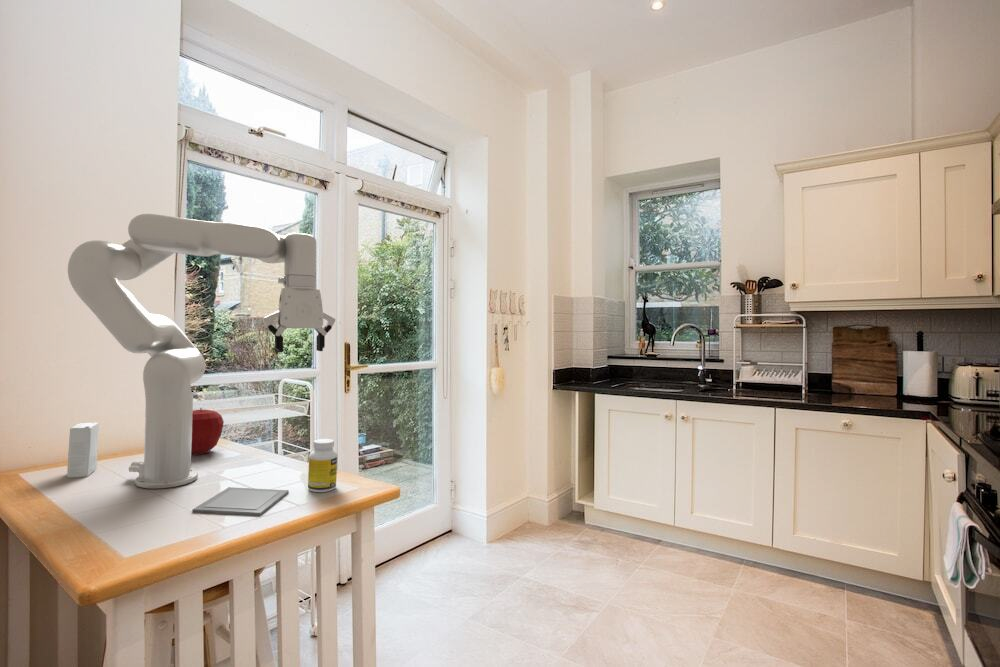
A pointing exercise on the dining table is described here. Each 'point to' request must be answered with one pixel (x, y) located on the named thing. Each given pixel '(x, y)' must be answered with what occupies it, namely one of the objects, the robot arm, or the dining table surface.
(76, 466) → the skincare box
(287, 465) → the dining table surface
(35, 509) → the dining table surface
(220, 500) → the coaster
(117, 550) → the dining table surface
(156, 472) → the robot arm
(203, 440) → the apple
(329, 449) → the pill bottle
